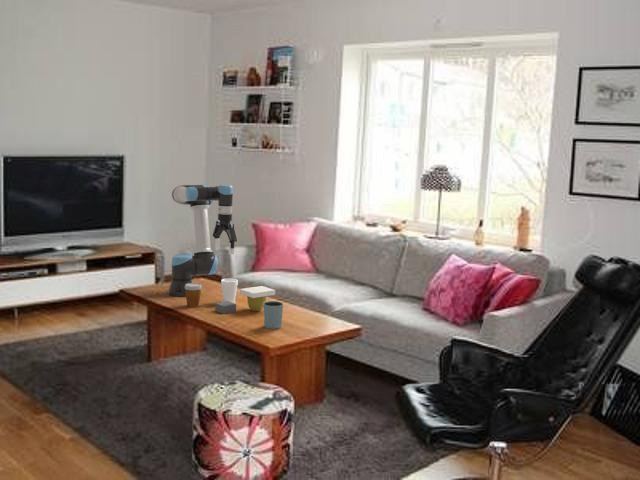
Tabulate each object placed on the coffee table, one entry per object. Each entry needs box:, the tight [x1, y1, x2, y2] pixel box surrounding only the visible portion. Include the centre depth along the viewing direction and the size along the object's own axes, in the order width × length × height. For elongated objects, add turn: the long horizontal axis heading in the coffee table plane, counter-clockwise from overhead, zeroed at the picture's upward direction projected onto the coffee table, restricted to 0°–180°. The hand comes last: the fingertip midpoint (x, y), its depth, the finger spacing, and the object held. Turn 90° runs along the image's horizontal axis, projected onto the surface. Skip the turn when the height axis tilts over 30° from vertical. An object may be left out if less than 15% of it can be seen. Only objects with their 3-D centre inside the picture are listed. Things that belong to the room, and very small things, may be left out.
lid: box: [239, 285, 276, 298], centre depth 396 cm, size 12×15×2 cm
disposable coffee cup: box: [184, 282, 203, 308], centre depth 399 cm, size 10×10×12 cm
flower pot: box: [246, 296, 267, 312], centre depth 397 cm, size 9×9×9 cm
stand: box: [214, 301, 237, 314], centre depth 392 cm, size 8×8×4 cm
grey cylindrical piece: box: [262, 300, 284, 330], centre depth 366 cm, size 10×10×12 cm
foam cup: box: [220, 278, 239, 304], centre depth 409 cm, size 10×9×13 cm
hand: (224, 252), depth 396 cm, fingers open, 13 cm apart
